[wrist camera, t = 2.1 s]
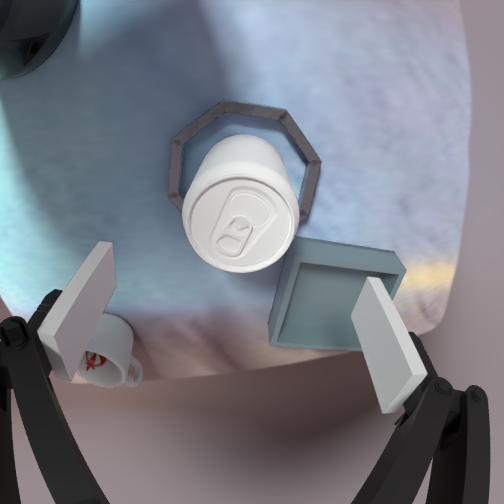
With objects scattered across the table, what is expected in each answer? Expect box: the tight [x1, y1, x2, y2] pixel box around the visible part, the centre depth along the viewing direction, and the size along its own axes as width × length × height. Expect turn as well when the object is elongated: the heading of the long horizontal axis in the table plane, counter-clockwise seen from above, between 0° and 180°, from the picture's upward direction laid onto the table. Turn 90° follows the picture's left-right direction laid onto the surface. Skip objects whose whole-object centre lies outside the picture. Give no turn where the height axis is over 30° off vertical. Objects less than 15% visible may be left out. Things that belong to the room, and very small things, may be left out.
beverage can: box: [182, 135, 299, 273], centre depth 26 cm, size 8×8×12 cm
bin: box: [268, 236, 406, 351], centre depth 37 cm, size 13×13×4 cm
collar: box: [168, 100, 322, 222], centre depth 31 cm, size 14×14×2 cm
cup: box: [76, 314, 143, 388], centre depth 39 cm, size 11×8×8 cm
